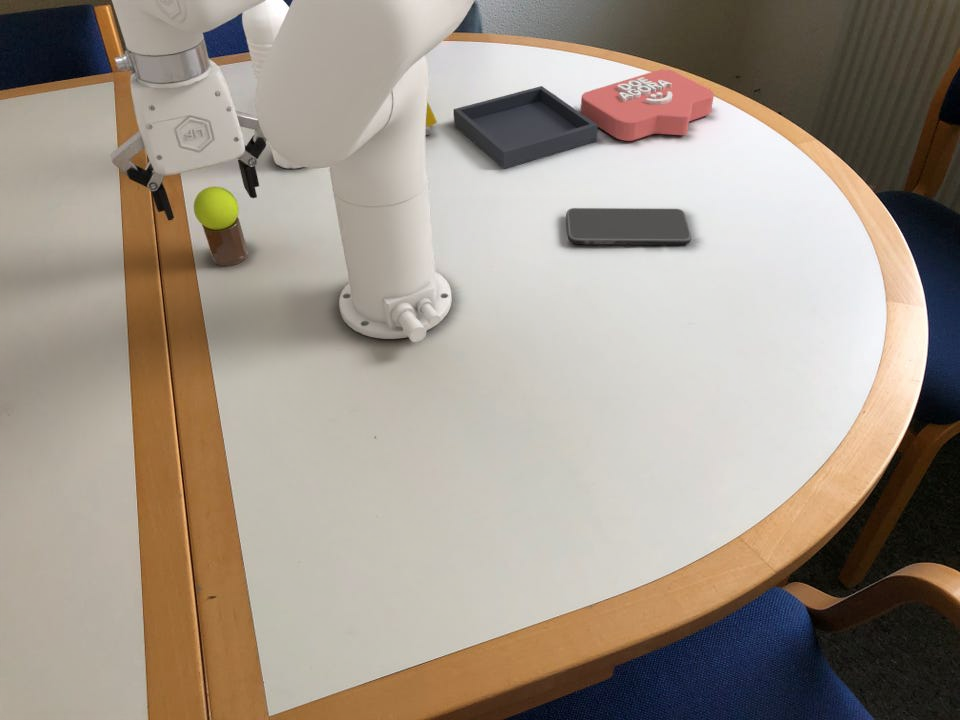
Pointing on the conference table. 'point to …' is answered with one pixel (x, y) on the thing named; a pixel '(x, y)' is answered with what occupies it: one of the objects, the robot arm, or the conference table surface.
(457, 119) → the tray
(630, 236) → the smartphone
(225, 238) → the cup
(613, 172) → the conference table surface
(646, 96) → the plaque
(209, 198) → the ball
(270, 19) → the water bottle
